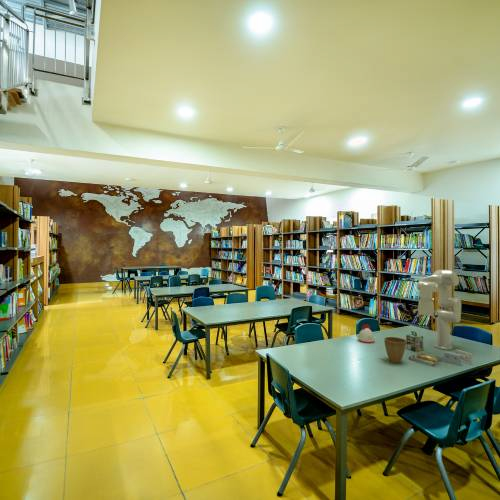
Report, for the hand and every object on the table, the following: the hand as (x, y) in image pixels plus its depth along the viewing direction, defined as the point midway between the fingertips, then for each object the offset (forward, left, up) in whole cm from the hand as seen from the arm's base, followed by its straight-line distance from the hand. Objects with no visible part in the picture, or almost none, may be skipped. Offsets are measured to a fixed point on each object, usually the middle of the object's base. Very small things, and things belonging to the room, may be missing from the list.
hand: (425, 322), depth 232 cm
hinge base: (-1, 0, -28) cm, 28 cm away
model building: (-18, -17, -28) cm, 37 cm away
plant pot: (+20, -13, -28) cm, 36 cm away
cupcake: (-7, -54, -28) cm, 61 cm away
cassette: (-18, +18, -28) cm, 38 cm away
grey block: (-9, +14, -28) cm, 33 cm away
